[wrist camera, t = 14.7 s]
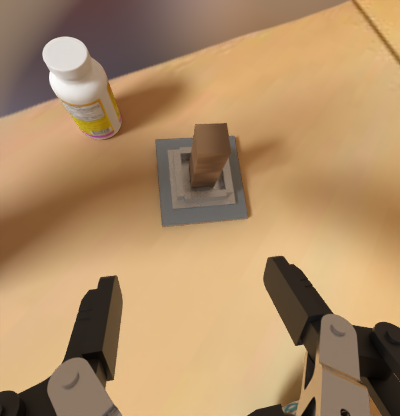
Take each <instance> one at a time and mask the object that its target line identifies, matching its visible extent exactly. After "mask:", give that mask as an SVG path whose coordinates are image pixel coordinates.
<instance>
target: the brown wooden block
mask: <svg viewBox="0 0 400 416" xmlns="http://www.w3.org/2000/svg"><path fill="white" fill-rule="evenodd" d="M230 154H231V148H230V141H229V135H228V129H227V123H223V124H195V129H194V136H193V143H192V149H191V156H190V163H189V172H190V182H191V188H202V187H214V186H215V184H216V182H217V180H218V178H219V176H220V174H221V172H222V170H223V168H224V166H225V164H226V162H227V160H228V158H229V156H230Z"/></svg>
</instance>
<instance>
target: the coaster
mask: <svg viewBox="0 0 400 416" xmlns="http://www.w3.org/2000/svg"><path fill="white" fill-rule="evenodd" d="M229 141H230V148H231V154H230V156H229V164H230V170H231V176H232V183H233V189H234V196H235V202H236V204H235V205H225V206H213V207H201V208H189V209H178V210H173V205H172V194H171V183H170V172H169V161H168V150H177V149H180V147H192V143H193V138H179V139H157V140H156V152H157V165H158V178H159V191H160V204H161V217H162V227H168V226H179V225H190V224H200V223H211V222H221V221H232V220H242V219H247V218H248V215H247V209H246V203H245V197H244V191H243V185H242V179H241V173H240V167H239V161H238V155H237V149H236V143H235V137H234V136H229Z"/></svg>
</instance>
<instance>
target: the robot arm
mask: <svg viewBox="0 0 400 416" xmlns="http://www.w3.org/2000/svg"><path fill="white" fill-rule="evenodd" d="M263 280H264V285H265V288H266V290H267V291H268V293H269V295H270V297H271V299H272V301H273V303H274V305H275V307H276V309H277V311H278V313H279V315H280V317H281V319H282V321H283V322H284V324H285V326H286V328H287V330H288V332H289V334H290V336H291V338H292V340H293V342H294V344H295V346H298V345H303V344H304V346H305V348H306V353H305V361H304V371H303V380H302V389H301V395H300V399H299V402H298V406H297V412H296V415H294V414H290V413H287V412H283V409H282V407H281V404H279V405H274V406H270V407H266V408H261V409H257V410H255V411H254V412H252V413H251V414H249V415H248V416H371V414H370V404H369V395H370V397H371V398H372V400H373V401H374V403H375V405H376V406H377V408H378V410H379V411H380V413H381V414H382V416H400V328H399V327H397V326H395V325H393V324H391V323H387V322H379V323H377V324H376V325H375V327H374V328H367V327H361V326H355V325H351V324H350V323H349V322H348V321H347V320H346V319H344V318H343V317H341V316H338V315H335V314H333V312H332V311H331V310H330V308H329V307H328V306H327V304H326V303H325V302H324V300H323V299H322V298H321V296H320V295H319V293H318V292H317V291H316V289H315V288H314V287H313V286H312V284H311V283H310V281H309V280H308V278H307V277H306V276H305V274H304V273H303V272H302V270H300V269H299V268H298V267H296V266H295V265H294V264H290V265H289V263H288V262H287V260H286V259H285V258H284V257H283V256H275V257H269V258H268V259H267V263H266V268H265V272H264V277H263ZM122 305H123V301H122V293H121V289H120V285H119V281H118V277H117V276H107V277H101V278H100V280H99V283H98V287H97V289H93V290H89V291H88V292H87V294H86V295H85V296H84V298H83V299H82V301H81V304H80V307H79V313H78V314H77V318H76V322H75V324H74V328H73V331H72V334H71V338H70V341H69V345H68V348H67V351H66V355H65V357H64V360H63V362H62V364H61V365H60V366H59V367H58V368H57V369H56V370H55V371H54V373H53V374H52V375H51V376H50V377H49V378H47V379H46V380H45V381H43V382H41V383H39V384H37V385H35V386H33V387H31V388H29V389H27V390H25V391H23V392H21V393H19V394H17V393H15V392H14V391H2V392H0V416H122V414H121V413H120V411H119V410H118V408H117V407H116V406H115V405H114V403H113V402H112V400H111V399H110V397H109V395H108V394H107V392H106V391H105V387H106V381H110V380H114V374H115V365H116V357H117V348H118V340H119V332H120V323H121V315H122ZM395 375H396V376H397V377H396V376H395ZM398 379H399V380H398ZM361 382H362V383H361ZM368 393H369V394H368Z"/></svg>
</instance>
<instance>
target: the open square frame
mask: <svg viewBox="0 0 400 416" xmlns="http://www.w3.org/2000/svg"><path fill="white" fill-rule="evenodd" d="M191 149H192V147H180V149H177V150H168V161H169V172H170V183H171V194H172V205H173V210H178V209H189V208H201V207H213V206H225V205H235V204H236V202H235V196H234V189H233V183H232V176H231V170H230V164H229V158H228V160H227V162H226V164H225V166H224V168H223V170H222V172H221V174H220V176H219V178H218V180H217V182H216V184H215V186H214V187H202V188H191V182H190V172H189V163H190V156H191Z"/></svg>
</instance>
